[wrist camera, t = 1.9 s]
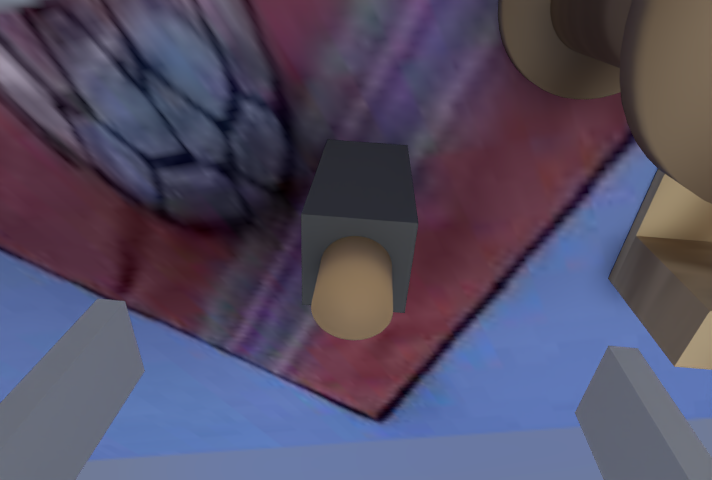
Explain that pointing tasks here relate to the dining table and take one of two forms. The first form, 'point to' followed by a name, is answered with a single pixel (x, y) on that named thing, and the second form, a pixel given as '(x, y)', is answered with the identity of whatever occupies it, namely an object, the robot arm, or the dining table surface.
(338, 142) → the gray block with knob
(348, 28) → the dining table surface
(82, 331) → the robot arm
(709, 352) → the wooden u-shaped block
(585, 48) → the bobbin
